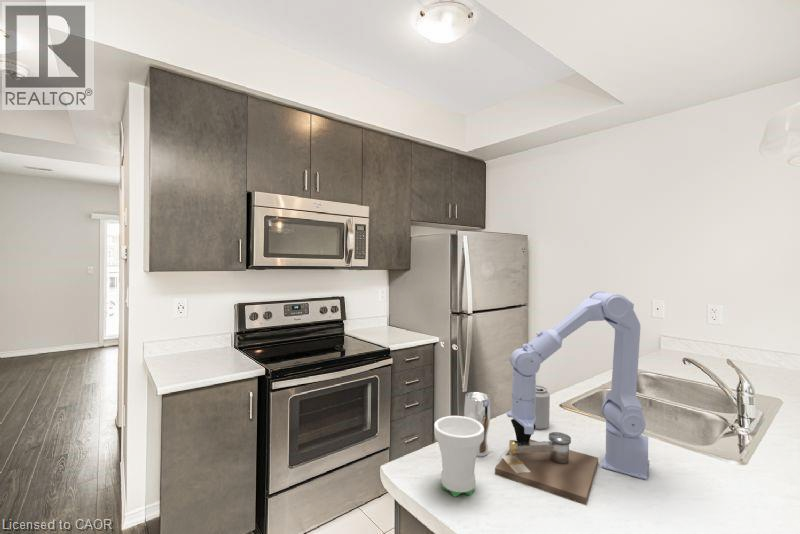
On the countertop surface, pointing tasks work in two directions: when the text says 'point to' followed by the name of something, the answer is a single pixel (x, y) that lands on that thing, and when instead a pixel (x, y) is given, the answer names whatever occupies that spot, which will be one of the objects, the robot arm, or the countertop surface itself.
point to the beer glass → (479, 414)
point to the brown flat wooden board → (552, 473)
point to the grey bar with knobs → (545, 447)
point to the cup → (458, 451)
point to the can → (542, 407)
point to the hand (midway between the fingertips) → (522, 449)
